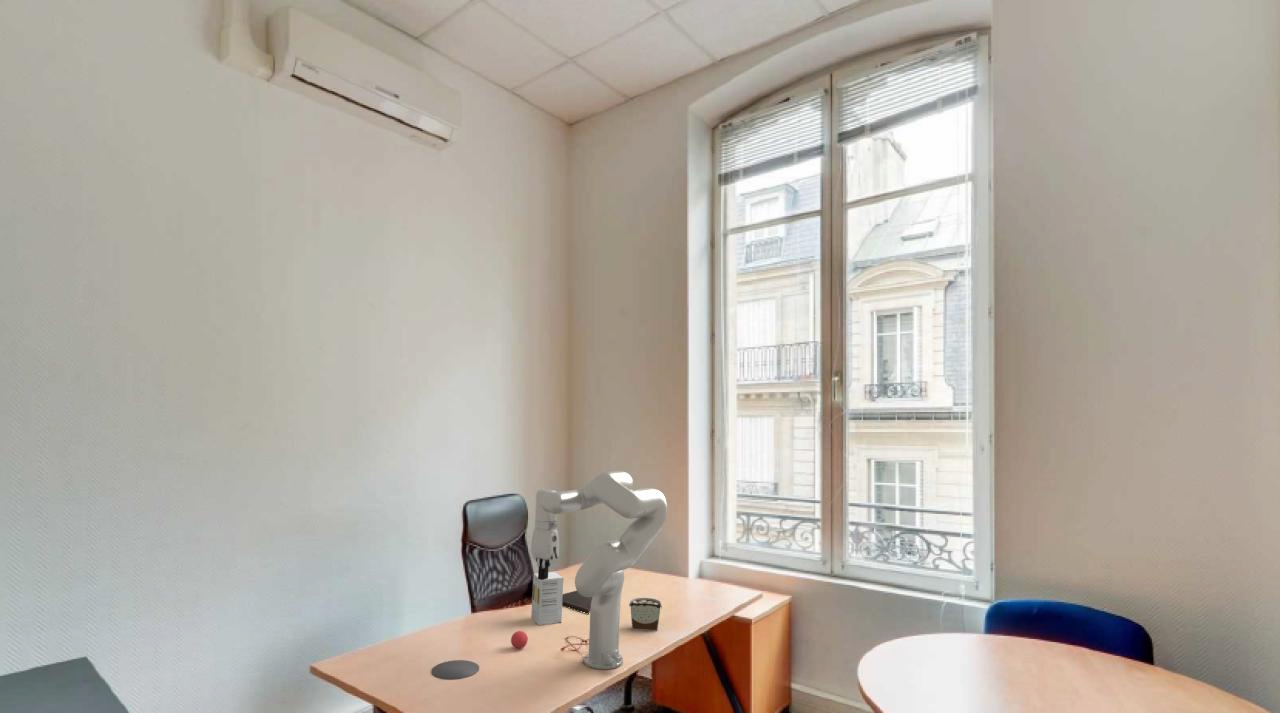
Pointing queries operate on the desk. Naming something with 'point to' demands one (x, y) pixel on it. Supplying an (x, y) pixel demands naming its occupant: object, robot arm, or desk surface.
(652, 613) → the food container
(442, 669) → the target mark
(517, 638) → the ball
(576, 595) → the hardcover book
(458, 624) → the desk surface
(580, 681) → the desk surface
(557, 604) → the supplement box
